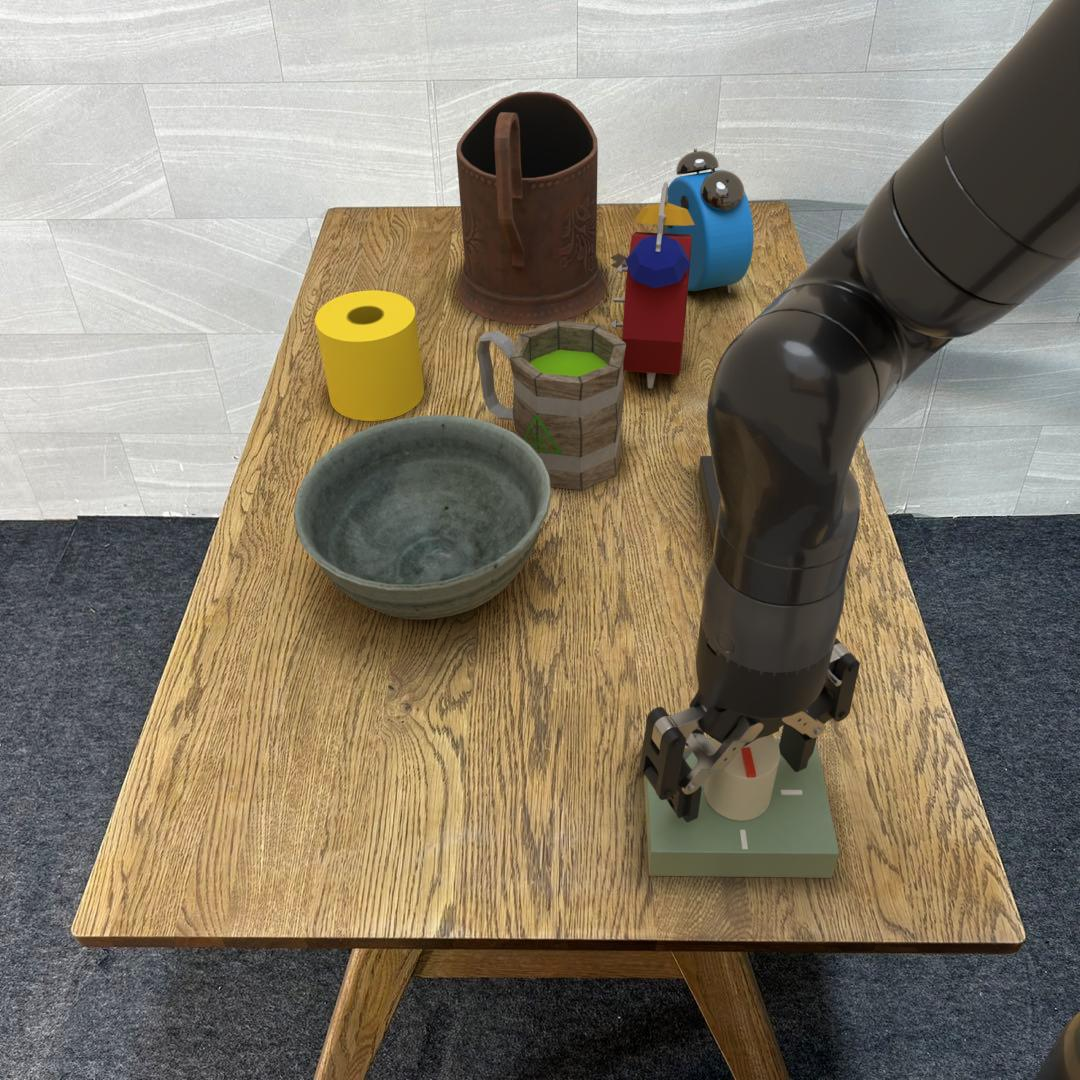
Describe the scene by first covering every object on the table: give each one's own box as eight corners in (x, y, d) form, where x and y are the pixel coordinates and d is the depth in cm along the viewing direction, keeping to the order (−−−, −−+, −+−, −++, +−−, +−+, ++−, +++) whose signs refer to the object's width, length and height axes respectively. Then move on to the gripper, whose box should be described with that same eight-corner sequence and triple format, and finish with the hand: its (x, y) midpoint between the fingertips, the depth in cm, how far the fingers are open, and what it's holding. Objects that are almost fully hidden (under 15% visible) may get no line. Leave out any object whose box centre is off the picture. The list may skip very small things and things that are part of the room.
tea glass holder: (614, 253, 133) (619, 46, 116) (593, 355, 116) (596, 129, 99) (471, 246, 135) (457, 42, 119) (430, 345, 118) (406, 122, 101)
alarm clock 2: (678, 404, 108) (693, 222, 95) (596, 398, 110) (599, 218, 96) (686, 329, 119) (700, 157, 106) (611, 324, 120) (615, 153, 107)
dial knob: (699, 766, 72) (706, 720, 68) (763, 763, 72) (773, 717, 68) (709, 822, 68) (716, 777, 65) (776, 819, 68) (787, 774, 65)
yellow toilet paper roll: (323, 421, 108) (307, 342, 101) (337, 368, 115) (323, 291, 109) (419, 420, 107) (409, 340, 101) (428, 366, 115) (419, 289, 108)
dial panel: (809, 764, 75) (816, 737, 73) (832, 878, 68) (840, 852, 66) (642, 762, 76) (644, 736, 73) (648, 876, 69) (651, 850, 67)
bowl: (598, 551, 92) (600, 462, 85) (457, 710, 79) (446, 620, 73) (414, 474, 101) (402, 387, 94) (260, 606, 88) (234, 517, 81)
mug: (644, 445, 103) (650, 340, 95) (586, 505, 97) (587, 398, 89) (515, 397, 110) (510, 295, 102) (452, 450, 104) (441, 345, 95)
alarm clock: (748, 304, 123) (763, 180, 113) (699, 313, 122) (711, 189, 112) (701, 255, 132) (712, 136, 122) (656, 263, 131) (663, 144, 121)
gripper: (830, 538, 63) (792, 707, 74) (624, 616, 59) (617, 783, 70) (914, 619, 58) (860, 787, 69) (696, 711, 54) (676, 875, 65)
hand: (738, 785), depth 69 cm, fingers open, 8 cm apart
